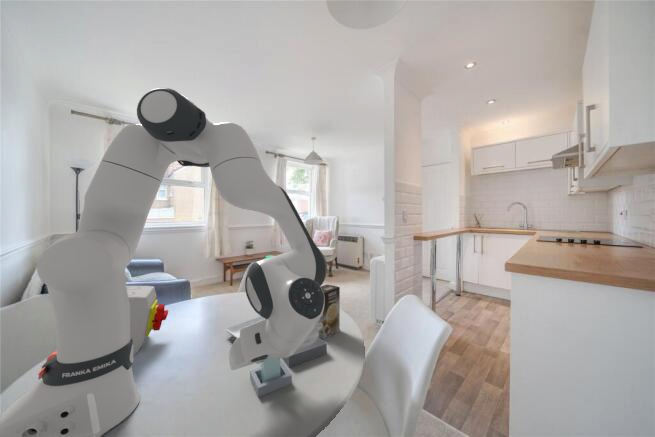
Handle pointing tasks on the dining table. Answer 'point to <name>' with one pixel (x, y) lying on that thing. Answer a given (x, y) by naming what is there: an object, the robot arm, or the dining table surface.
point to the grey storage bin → (272, 384)
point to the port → (307, 353)
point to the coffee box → (330, 311)
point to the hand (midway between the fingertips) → (269, 356)
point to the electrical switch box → (144, 313)
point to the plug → (270, 369)
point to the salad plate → (241, 326)
